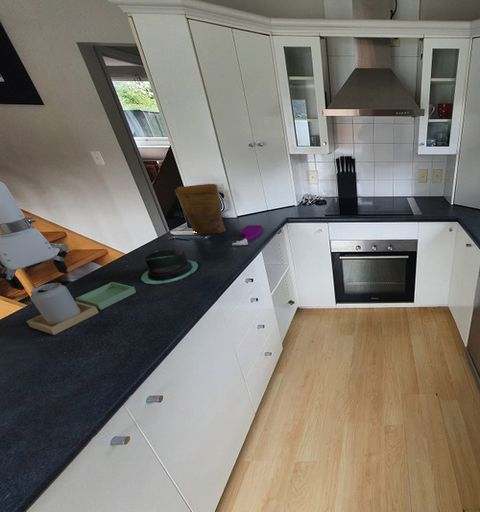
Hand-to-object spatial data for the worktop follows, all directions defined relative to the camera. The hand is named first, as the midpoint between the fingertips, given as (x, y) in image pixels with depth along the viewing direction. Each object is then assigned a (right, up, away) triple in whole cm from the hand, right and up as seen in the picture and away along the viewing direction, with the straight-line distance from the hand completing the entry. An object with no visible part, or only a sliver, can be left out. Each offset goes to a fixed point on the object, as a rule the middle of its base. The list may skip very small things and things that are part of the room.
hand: (43, 280), depth 82 cm
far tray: (+2, -8, +18) cm, 19 cm away
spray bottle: (+27, +18, +71) cm, 78 cm away
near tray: (-1, -13, +7) cm, 15 cm away
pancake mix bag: (+2, +20, +75) cm, 78 cm away
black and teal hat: (+11, 0, +35) cm, 37 cm away
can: (-1, -13, +6) cm, 15 cm away
